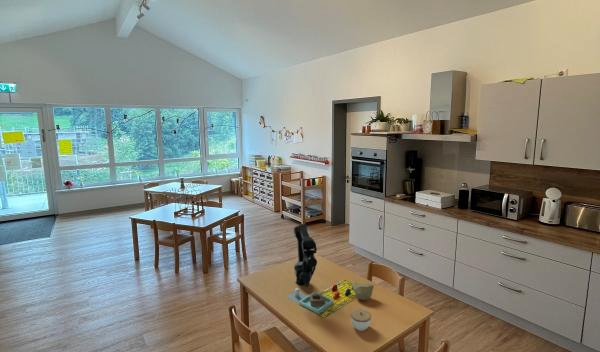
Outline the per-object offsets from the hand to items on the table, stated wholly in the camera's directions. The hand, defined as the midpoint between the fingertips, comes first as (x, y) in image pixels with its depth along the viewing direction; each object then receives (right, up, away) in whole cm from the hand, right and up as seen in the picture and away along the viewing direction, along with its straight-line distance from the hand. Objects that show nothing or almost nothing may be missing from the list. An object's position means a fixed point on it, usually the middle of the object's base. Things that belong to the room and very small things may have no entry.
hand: (308, 283), depth 205 cm
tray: (+5, -12, -2) cm, 13 cm away
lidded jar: (+28, -16, -24) cm, 40 cm away
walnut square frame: (+5, -12, -3) cm, 13 cm away
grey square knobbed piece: (-7, -11, +5) cm, 14 cm away
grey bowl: (+33, -11, +5) cm, 36 cm away
